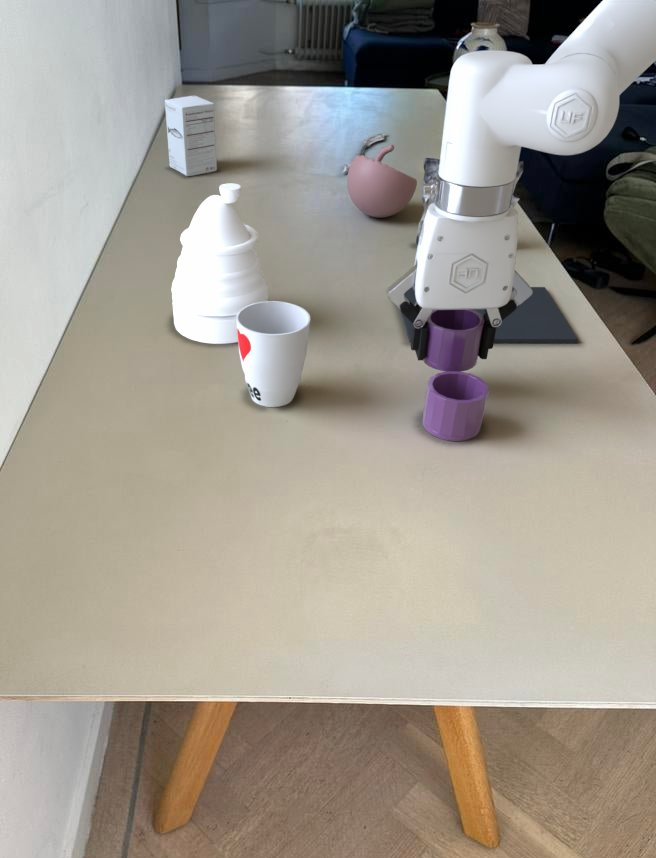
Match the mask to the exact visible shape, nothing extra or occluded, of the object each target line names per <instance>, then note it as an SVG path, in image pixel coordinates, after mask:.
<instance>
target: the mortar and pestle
mask: <svg viewBox="0 0 656 858" xmlns="http://www.w3.org/2000/svg"><path fill="white" fill-rule="evenodd" d="M394 150H395V145H394V144H389V145H387V146H385V147H382V148H380V149H379V151H378V153H377V155H376V156H375V158H374V159H373V158H371V157H367V156H365V154H364V155H363V154H362V156H359V155H358V154H355V155H354V157H353V159H352V161H351V162H352V163H351V162H350V163H351V165H350V168H349V171H348V172H347V175H346V176H347V177H346V186H347V192H348V196H349V198H350V200H351V201H352V203H353V204H354V206H355V207H356V208H357V209H358V210H359V211H360V212H361V213H363V214H365V215H366V216H369V217H372V218H388V217H391V216H394V215H396V214H397V213H399V212H401V211H402V210H403V209H405V208H406V206H408V205H409V203H410V202H411V200H412V198H413V197H414V195H415V193H416V189H417V186H418V180H417V178H414V177H412V176H410V175H408V174H406V173H404V172H401V171H400V170H397V169H396V168H394V167H392V166H389V165H388V164H385V163H382V161H383V159H384V157H385V156H386V155H387V154H389V153H392V152H393V151H394Z"/></svg>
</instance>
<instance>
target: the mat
mask: <svg viewBox="0 0 656 858" xmlns="http://www.w3.org/2000/svg"><path fill="white" fill-rule="evenodd" d="M530 287H531V289H532V291H533V293H532V295H531V296H530V297H529V298H527V299H526V300H525V301H524V302H523V303H522V304H520V305H518V306H517V308H516V310H515V311H514V312H512V313H511V314H510V315H509V316H507V317H506V318H505V319H504V320H502V323H501V325H500V326H498V327H497V328H496V333H495V339H494V344H578V342H579V338H578V337H577V335H576V333H575V332H574V330H573V328H571V326H570V324H569V323H568V321H567V319H566V318H565V316H564V315H563V313H562V311H561V310H560V308H559V307H558V305H557V303H556V302H555V300H554V299H553V298H552V295H550V293H549V291H548V290H547V288H546V287H545V286H530ZM504 289H505V288H504ZM513 291H514V288H513V287H512V292H513ZM512 292H511V293H512ZM404 295H405V297H406V298H407V299H409V300H410V301H411V302H412V303H413V304H414V305H415V303H416V297H415V291H414V290H413V287H411V288H410V289H409V290H408V291H406V292H405V293H404ZM471 310H474V311H476V312H478V313H479V314H481V315H482V316H484V314H485V309H471ZM400 313H401V317H402V320H403V323H404V327H405V330H406V334H407V337H408V341H409V343H410V344H411V333H412V324H413V323H412V322H411V321H410V320H409V319H408V318H407V317H406V316H405V315H404V314H403V313H402V312H401V311H400Z"/></svg>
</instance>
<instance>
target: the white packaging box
mask: <svg viewBox="0 0 656 858" xmlns="http://www.w3.org/2000/svg"><path fill="white" fill-rule="evenodd" d="M164 108H165V122H166V132H167V133H166V134H167V148H168V162H169V167H170V168H171V169H173V170H175V171H177V172H178V173H180V174H182V175H184V176H185V177H192V176H198V175H202V174H203V175H204V174H208V173H212V172H217V170H218V165H217V164H218V163H217V139H216V136H217V135H216V112H215V109H216V108H215V102H212V101H209V100H207V99H205V98H202V97H200V96H197V95H188V96H180V97H175V98H168V99H164Z"/></svg>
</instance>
